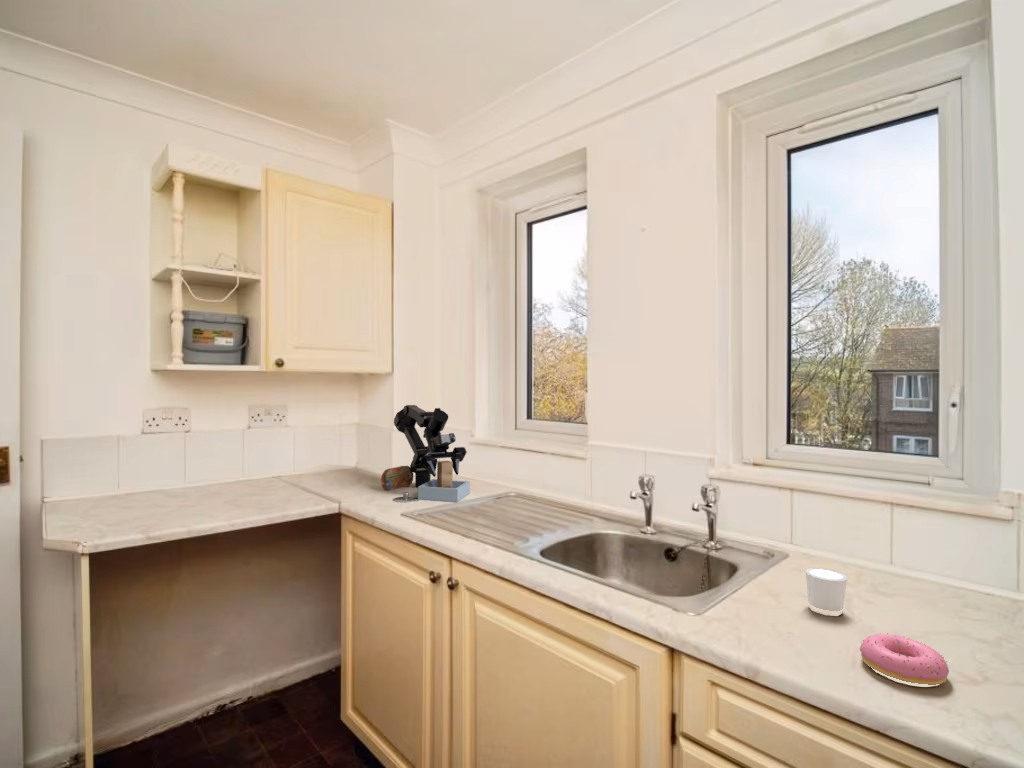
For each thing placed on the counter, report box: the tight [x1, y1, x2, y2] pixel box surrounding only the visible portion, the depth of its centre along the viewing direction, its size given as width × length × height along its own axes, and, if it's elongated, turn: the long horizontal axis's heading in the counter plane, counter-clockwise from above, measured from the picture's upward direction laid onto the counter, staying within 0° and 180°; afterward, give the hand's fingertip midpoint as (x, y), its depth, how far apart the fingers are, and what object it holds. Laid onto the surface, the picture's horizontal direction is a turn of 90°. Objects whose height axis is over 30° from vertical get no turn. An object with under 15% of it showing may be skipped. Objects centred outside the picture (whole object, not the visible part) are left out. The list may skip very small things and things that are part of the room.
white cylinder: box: [805, 567, 848, 611], centre depth 104 cm, size 7×7×7 cm
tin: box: [380, 465, 414, 491], centre depth 206 cm, size 15×3×8 cm, turn 148°
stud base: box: [392, 491, 419, 504], centre depth 186 cm, size 9×9×3 cm
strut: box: [436, 460, 454, 488], centre depth 192 cm, size 4×4×12 cm
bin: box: [417, 478, 471, 503], centre depth 192 cm, size 14×14×5 cm
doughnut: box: [859, 632, 950, 685], centre depth 83 cm, size 11×11×4 cm
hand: (446, 475), depth 191 cm, fingers open, 8 cm apart
